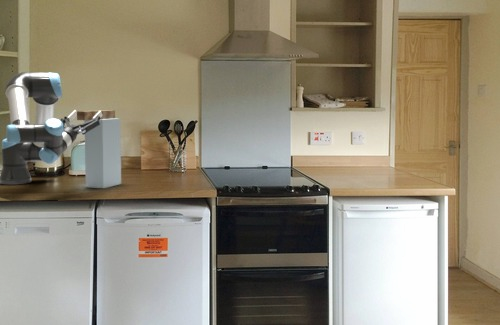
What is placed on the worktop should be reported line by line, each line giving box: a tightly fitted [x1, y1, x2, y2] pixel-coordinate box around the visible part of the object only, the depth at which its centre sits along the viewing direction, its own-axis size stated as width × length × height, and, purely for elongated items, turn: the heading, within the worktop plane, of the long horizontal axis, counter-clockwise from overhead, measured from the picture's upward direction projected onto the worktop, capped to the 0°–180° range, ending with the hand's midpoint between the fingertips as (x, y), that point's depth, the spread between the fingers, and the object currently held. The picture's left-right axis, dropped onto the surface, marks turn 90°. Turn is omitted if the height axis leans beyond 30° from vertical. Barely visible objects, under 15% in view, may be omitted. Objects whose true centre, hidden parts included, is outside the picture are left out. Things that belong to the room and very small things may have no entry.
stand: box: [83, 117, 122, 189], centre depth 287 cm, size 16×10×33 cm, turn 161°
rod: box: [76, 109, 116, 121], centre depth 280 cm, size 26×4×4 cm, turn 161°
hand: (88, 112), depth 273 cm, fingers open, 13 cm apart
